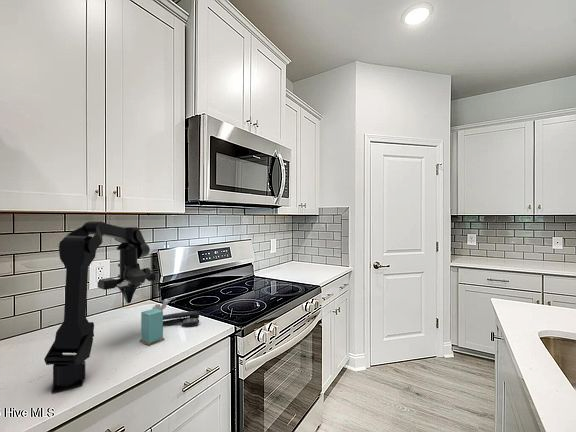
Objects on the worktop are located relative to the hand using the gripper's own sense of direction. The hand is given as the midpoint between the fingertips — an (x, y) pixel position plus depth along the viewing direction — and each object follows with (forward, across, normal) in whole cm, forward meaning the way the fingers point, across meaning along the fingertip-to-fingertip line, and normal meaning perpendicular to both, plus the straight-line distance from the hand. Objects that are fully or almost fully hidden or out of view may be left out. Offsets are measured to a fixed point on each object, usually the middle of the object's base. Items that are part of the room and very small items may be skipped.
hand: (128, 303), depth 107 cm
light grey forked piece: (+13, +20, +11) cm, 26 cm away
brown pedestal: (+13, +4, -9) cm, 16 cm away
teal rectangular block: (+12, +4, -9) cm, 16 cm away
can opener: (+14, +18, -3) cm, 23 cm away
